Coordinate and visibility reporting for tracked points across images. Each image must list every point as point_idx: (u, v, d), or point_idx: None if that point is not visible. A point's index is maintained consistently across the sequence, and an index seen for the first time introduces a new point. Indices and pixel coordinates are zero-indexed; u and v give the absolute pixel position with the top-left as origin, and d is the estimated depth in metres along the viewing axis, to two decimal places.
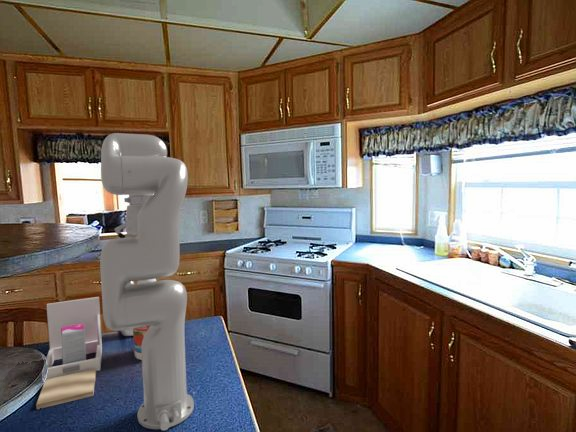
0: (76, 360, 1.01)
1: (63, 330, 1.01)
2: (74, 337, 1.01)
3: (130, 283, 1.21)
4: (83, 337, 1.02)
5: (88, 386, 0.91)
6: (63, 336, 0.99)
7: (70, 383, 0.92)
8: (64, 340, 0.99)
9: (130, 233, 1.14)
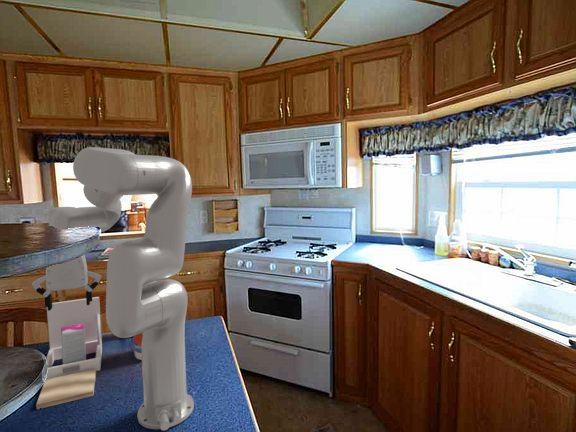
0: (76, 360, 1.01)
1: (63, 330, 1.01)
2: (74, 337, 1.01)
3: None
4: (83, 337, 1.02)
5: (88, 386, 0.91)
6: (63, 336, 0.99)
7: (70, 383, 0.92)
8: (64, 340, 0.99)
9: (50, 288, 0.97)
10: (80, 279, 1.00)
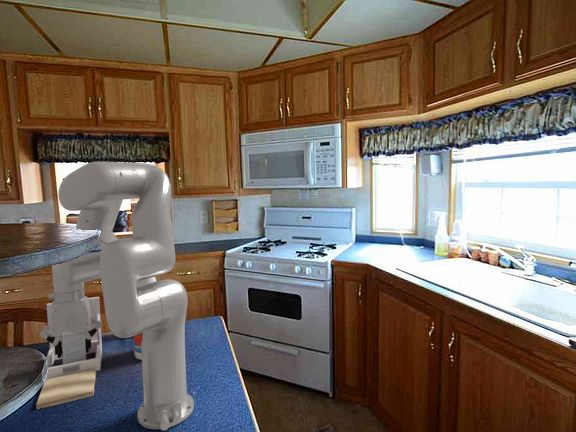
0: (76, 360, 1.01)
1: None
2: (74, 337, 1.01)
3: None
4: (83, 337, 1.02)
5: (88, 386, 0.91)
6: (63, 336, 0.99)
7: (70, 383, 0.92)
8: (64, 340, 0.99)
9: (54, 335, 0.99)
10: (84, 324, 1.02)
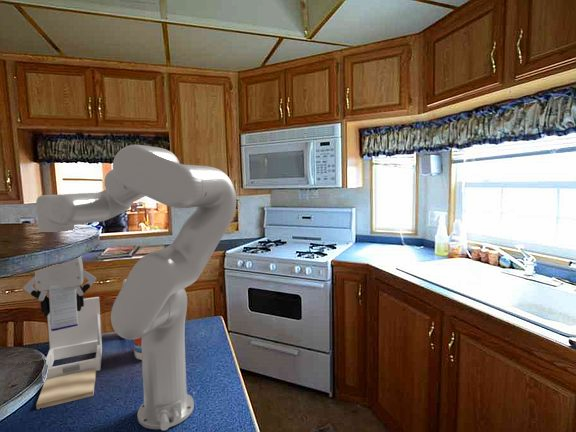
0: (66, 318, 0.87)
1: None
2: (63, 291, 0.87)
3: None
4: (74, 292, 0.88)
5: (88, 386, 0.91)
6: (50, 289, 0.85)
7: (70, 383, 0.92)
8: (51, 294, 0.85)
9: (40, 288, 0.84)
10: (75, 277, 0.87)
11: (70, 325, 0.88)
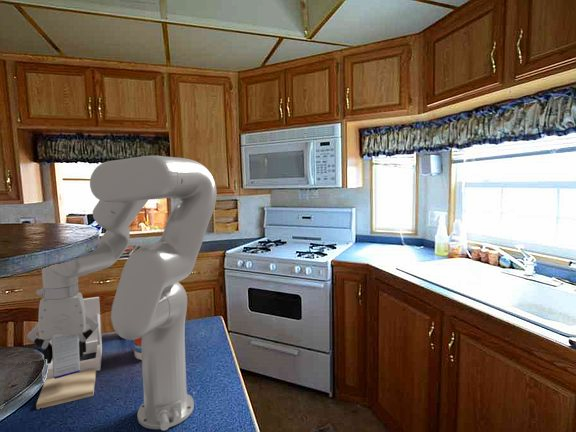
0: (68, 365, 0.88)
1: None
2: (66, 339, 0.88)
3: None
4: (76, 339, 0.89)
5: (88, 386, 0.91)
6: (53, 338, 0.86)
7: (70, 383, 0.92)
8: (54, 343, 0.86)
9: (43, 337, 0.86)
10: (77, 325, 0.89)
11: (72, 372, 0.89)
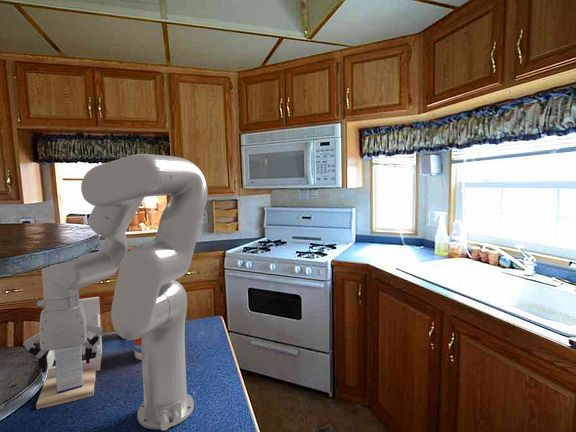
0: (71, 380, 0.89)
1: None
2: (69, 354, 0.88)
3: None
4: (79, 354, 0.90)
5: (88, 386, 0.91)
6: (56, 353, 0.87)
7: None
8: (57, 358, 0.87)
9: (45, 349, 0.86)
10: (78, 336, 0.89)
11: (75, 387, 0.89)
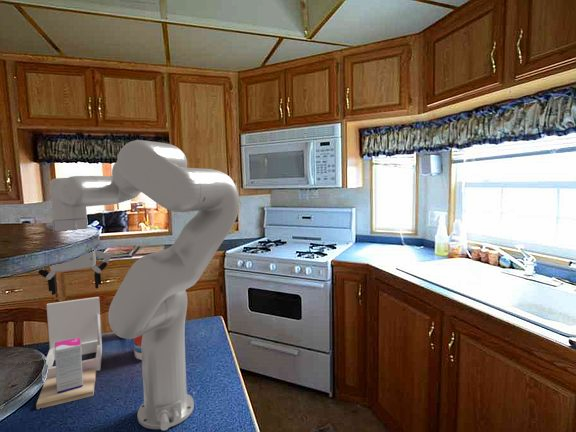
0: (71, 380, 0.89)
1: (57, 346, 0.89)
2: (69, 354, 0.88)
3: None
4: (79, 354, 0.90)
5: (88, 386, 0.91)
6: (56, 353, 0.87)
7: None
8: (57, 358, 0.87)
9: (54, 269, 0.86)
10: (88, 258, 0.90)
11: (75, 387, 0.89)
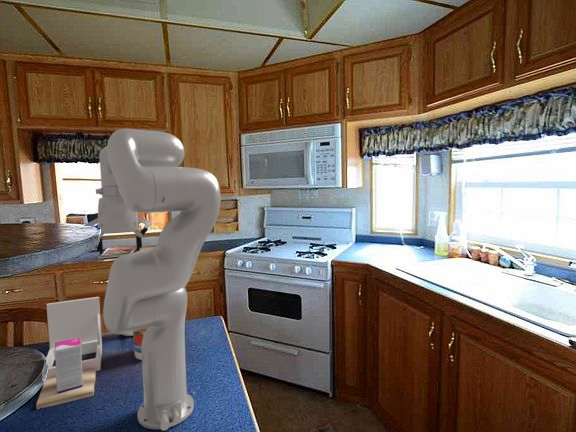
0: (71, 380, 0.89)
1: (57, 346, 0.89)
2: (69, 354, 0.88)
3: None
4: (79, 354, 0.90)
5: (88, 386, 0.91)
6: (56, 353, 0.87)
7: None
8: (57, 358, 0.87)
9: (103, 231, 0.96)
10: (131, 223, 0.99)
11: (75, 387, 0.89)
